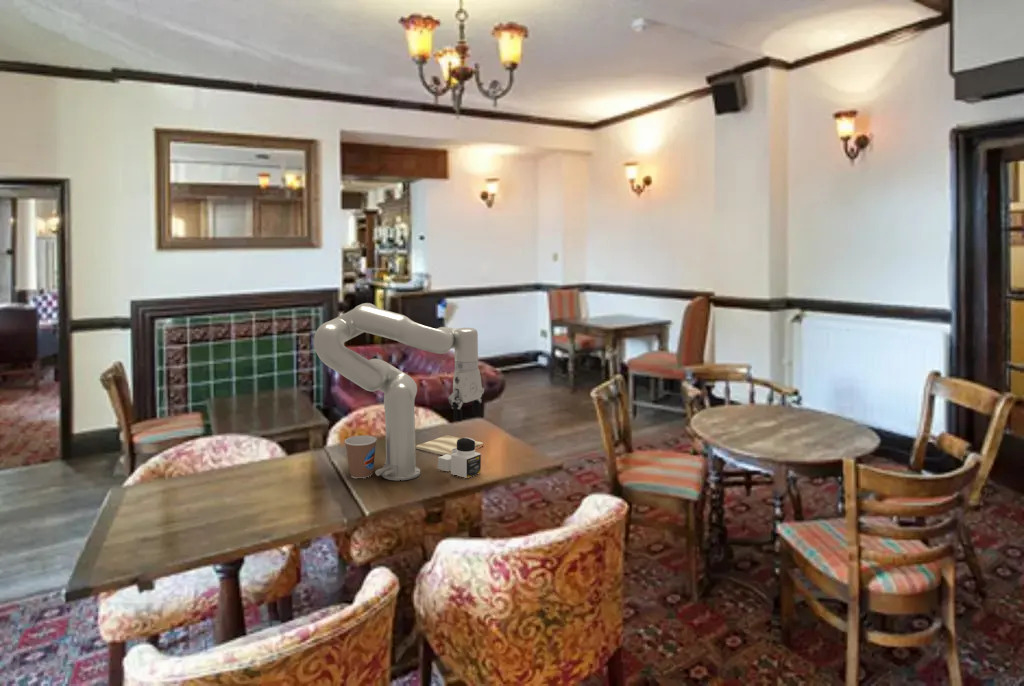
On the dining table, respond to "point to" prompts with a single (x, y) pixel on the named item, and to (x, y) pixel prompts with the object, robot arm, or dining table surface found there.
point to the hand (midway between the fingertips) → (467, 417)
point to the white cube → (444, 462)
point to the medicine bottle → (465, 459)
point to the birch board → (442, 445)
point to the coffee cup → (361, 455)
